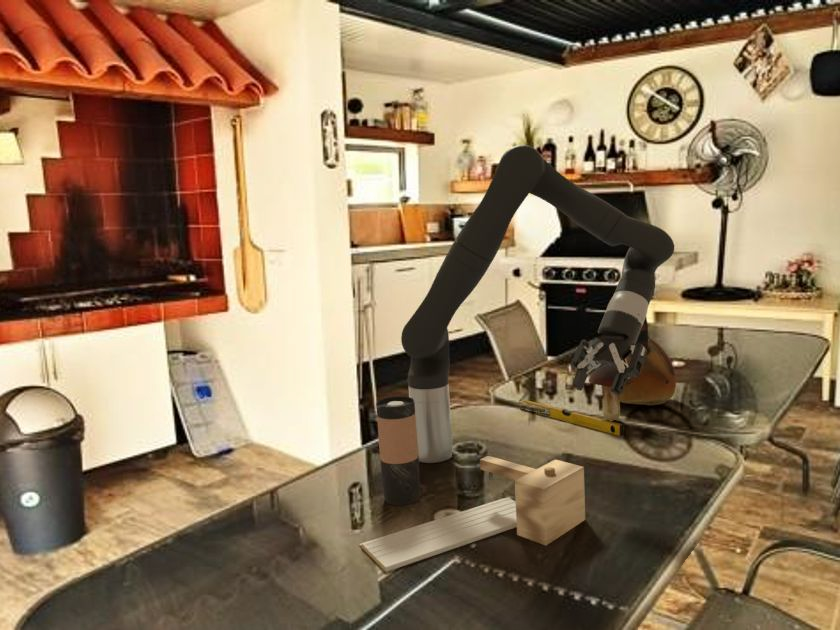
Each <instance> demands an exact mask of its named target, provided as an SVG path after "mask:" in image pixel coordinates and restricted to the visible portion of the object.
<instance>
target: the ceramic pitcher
mask: <svg viewBox="0 0 840 630" xmlns="http://www.w3.org/2000/svg"><path fill="white" fill-rule="evenodd" d="M651 300H653V296H652V298H651ZM648 325H649V324H648V320H647V316H646V317H645V320H644V323H643V325H642V328H641V331H640V333H639V336H638V339H637V341H636V344H637V343H641V344H642V345H643V347H644V348H645V349H646V350H647V354H646V357H645V360H644V364H643V367H642V370H641V373H640V376H639V377H635V376H632V377H631V378H632V379H633V383H631V384H629V385H625V387H624V390H623V392H622V393H620V395H619V401H620V403H623V404H629V405H638V406H640V405H641V406H657V405H659V406H660V405H662V403H663V404H664V403H666V402H667V401H669V400H670V399H672V398H673V396H674V394H675V393H676V385H677V382H676V381H677V379H676V373H675V370H674V369H675V368H674V367H673V363H672V361H671V359H670V357H669V356H668V354H667V352H666V350H664V348H663V347H662V346H661V345H660V344H659V343H658V342H657V341H656V340H654V339H652V338H650V336H649V326H648ZM636 344H635V345H636ZM631 357H632V354H631V355H629V356H628V357H627V358H626V361H627V364H628V367H629V364H630V361H631ZM602 366H604V365H602ZM601 390H602V394H603V395H604V390H605V386H603V385H601Z"/></svg>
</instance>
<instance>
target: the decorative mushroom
mask: <svg viewBox="0 0 840 630" xmlns="http://www.w3.org/2000/svg"><path fill="white" fill-rule="evenodd" d="M617 373H619V371H618V368H617V365H616V367H615V366H610V365H606V366H603V365H600V366H599V367H598V368H596V369H595V370H594V371H593V372H592V373H591V374H590V376H589V378H588V382H589V383H590V384H593V385H597V386H602V385H603V386H605V390H604V394H603V399H602V414H603V415H602V416H603V418H604V420H606V419H607V421H608V420H616V421H617V419H618V420H620V417H621V416H620V415H621V402H620V401H619V396H615V395H614V394H613V393H612V392H611V387H612V384H613V382H614V379H615V376H616V374H617ZM631 383H633V379H632V378H631V377H630V378H629V379H628V380H627V382H626V385H629V384H631Z"/></svg>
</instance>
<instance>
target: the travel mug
mask: <svg viewBox="0 0 840 630" xmlns="http://www.w3.org/2000/svg"><path fill="white" fill-rule="evenodd" d="M375 406H376V419H377V433H378V435H377V436H378V446H379V447H378V448H379V458H380V460H379V461H380V469H381V470H380V471H381V480H382V488H383V497H384V501H385V502H386V503H387V504H389V505H392V506H399V507H401V506H409V505H412V504H414V503H416V502H418V501H419V500H420V498H421V487H420V485H421V483H420V462H419V454H418V442H417V429H416V416H415V403H414V399H413V398H410V397H409V396H403V395H402V396H401V395H399V396H398V395H397V396H396V395H395V396H389V397H385V398H381V399H379V400H378V401H376V403H375Z"/></svg>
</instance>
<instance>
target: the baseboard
mask: <svg viewBox="0 0 840 630" xmlns="http://www.w3.org/2000/svg"><path fill="white" fill-rule="evenodd" d="M505 494H508V495H510V496H512V494H511V493H509V492H507V491H506V490H504V492H501V495H502V498H500V499H497V500H494V501H491V502H487V503H484V504H482V505H481V504H480V505H479V506H478V505H477V506H475V507H472V508H469V509H465V510H462V511H460V512H456V513H452V514H450V515H447V516H443V517H441V518H438V519H434V520H430V521H428V522H424V523H421V524H419V525H415V526H412V527H408V528H406V529H402V530H398V531H396V532H393V533H390V534H387V535H383V536H380V537H376V538H374V539H370V540H368V541H364V542H362V543H359V547H361V548H362V550H363V551H364V552H365V553H366V554H367V555H368V556H369V557H371V559H372V560H374V561H375V563H376V564H377V565H378V566H379V567H380V568H381V569H382V570H383V571H384V572H385V573H387V572H391V571H393V570H396V569H399V568H401V567H404V566H408V565H410V564H414V563H416V562H419V561H422V560H425V559H428V558H431V557H434V556H436V555H440V554H442V553H445V552H448V551H451V550H454V549H456V548H460V547H463V546H466V545H468V544H472V543H474V542H477V541H480V540H483V539H486V538H489V537H492V536H495V535H497V534H498V535H499V534H500V533H504V532H507V531H509V530H512V529H515V528H517V520H516V500H513V499H512V498H511V497H508V496H507V497H505Z"/></svg>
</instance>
